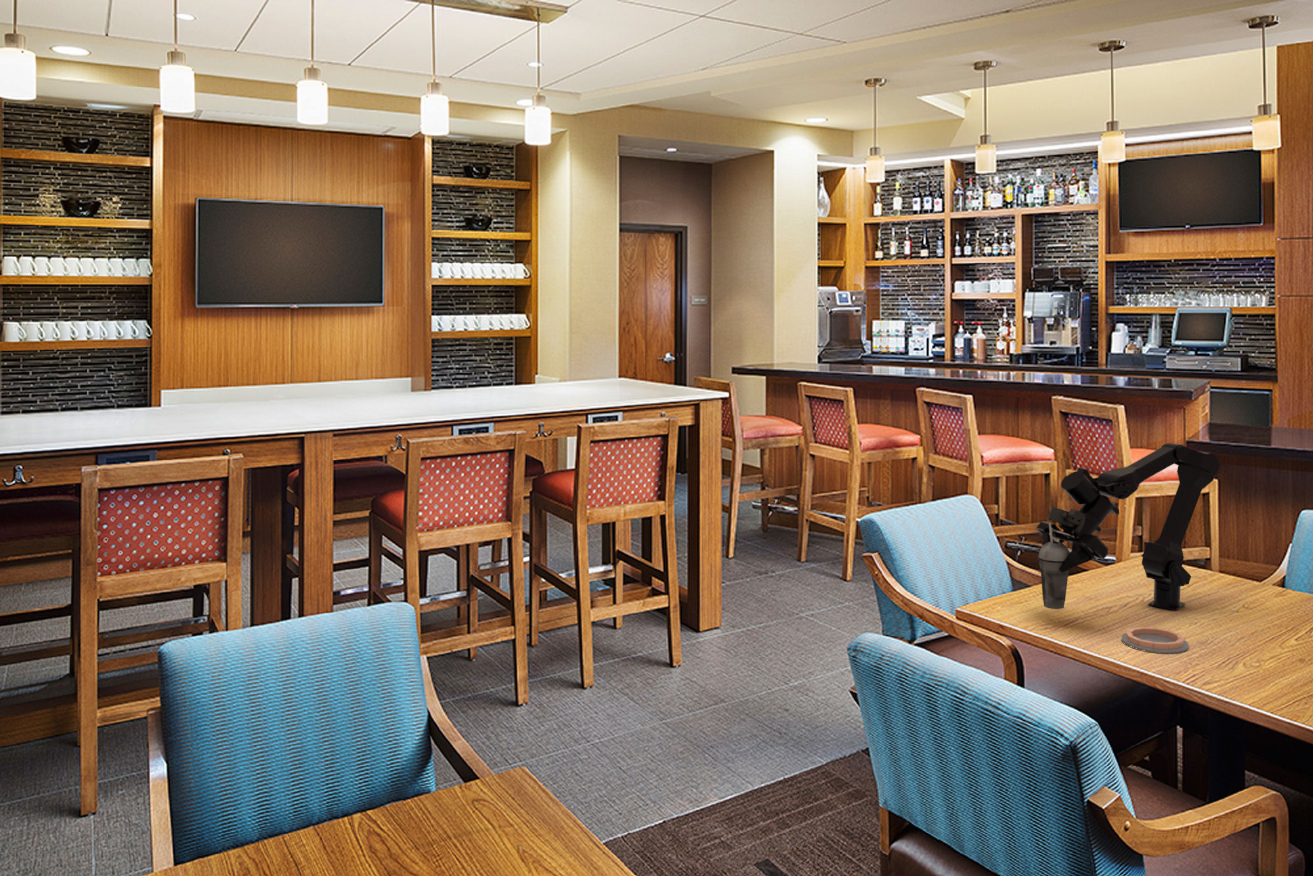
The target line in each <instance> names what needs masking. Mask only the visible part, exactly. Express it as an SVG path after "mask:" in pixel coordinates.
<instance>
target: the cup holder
mask: <svg viewBox="0 0 1313 876" xmlns="http://www.w3.org/2000/svg"><path fill="white" fill-rule="evenodd" d="M1120 639H1121V642H1122V643H1123V644H1124V643H1125V644H1126V645H1125V644H1124V645H1125V646H1127V645H1128V646H1127V647H1129V646H1132V647H1134V648H1137V649H1140V650H1139V651H1141V650H1145V651H1148V652H1147V653H1151V652H1155V653H1154V654H1160V653H1161V654H1162V653H1163V654H1164V655H1170V654H1171V655H1174V653H1175V654H1181V653H1184V652H1186V650H1187V651H1188V650H1189V643H1188V642H1187V640H1185V638H1184V637H1183V635H1182V634H1180V633H1178V632H1174V631H1173V630H1169V629H1164V628H1161V627H1149V626H1148V627H1146V626H1144V627H1143V626H1140V627H1133V628H1130V629H1128V630H1126V631H1125V633H1123V634H1122V635H1121V638H1120ZM1134 648H1133V649H1134ZM1137 649H1136V650H1137ZM1145 651H1144V652H1145ZM1167 653H1168V654H1167ZM1163 654H1162V655H1163Z"/></svg>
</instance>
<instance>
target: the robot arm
mask: <svg viewBox="0 0 1313 876" xmlns="http://www.w3.org/2000/svg"><path fill="white" fill-rule="evenodd" d="M1173 465H1176V466H1177V469H1176V472H1177V473H1176V474H1177V477H1178V481H1179V483H1178V487H1177V489H1176V492H1175V495H1174V498H1173V500H1172V503H1171V506H1170V508H1169V511H1168V513H1167V516H1166V519H1165V521H1164V524H1163V527H1162V529H1161V533H1160V535H1159V537H1158V538H1157V539H1155V541H1154V542H1152V541H1147V542H1146V544H1145V548H1144V551H1143V553H1142V554H1141V558H1142V559H1141V565H1142V566H1143V569H1144V573H1145V576H1146V578H1147V579H1151V580H1153V581H1154V582H1153V583H1154V584H1153V599H1152V600H1151V601H1150V602H1148V606H1151V607H1156V608H1160V609H1166V610H1172V611H1178V610H1180V609H1181V608H1182V607H1184V606H1185V605H1186V604H1185V603H1186V602H1183V601H1181V587H1184V586H1186V585H1187V586H1188V585H1190V582H1191V578H1192V576H1191V574H1190V573H1189V572H1188V571H1187V570H1186V569H1185V567H1183V563H1184V559H1185V557H1184V552H1183V548H1182V547H1183V546H1182V545H1183V542H1184V538H1185V537H1186V534H1187V530H1188V528H1189V525H1190V522H1191V520H1192V518H1193V515H1194V512H1195V509H1196V507H1197V504H1198V501H1199V498H1200V495H1201V493H1202V490H1203V489H1205V488H1206V487H1207V486H1208V485H1209V484H1211V483H1212V482H1213V481H1214V479H1215V478H1216V475H1217V474H1218V472H1219V469H1220V467H1221V462H1220V461H1219V458H1218V456H1217V455H1216V454H1215V453H1212V452H1204V451H1199V450H1198V451H1197V450H1194V449H1192V448H1189V447H1187V446H1185V445H1183V444H1180V443H1179V444H1178V443H1172V442H1167V443H1163V445H1161V447H1160V448H1158V449H1155V450H1154V451H1152V452H1151V453H1149V454H1147V455H1145V456H1144V457H1141V458H1140V459H1138V460H1136V461H1134V462H1133V463H1131V464H1129V465H1127V466H1124V467H1119V468H1113V469H1109V470H1107V471H1104V472H1101V473H1100V474H1099V475H1098V476H1097V477H1093V476H1092V475H1091V474H1090V472H1089V471H1088V469H1087V468H1083V467H1079V468H1078V469H1077V470H1076V471H1073V472H1071V473H1068V475H1065V476H1064V477H1063V478H1062V480H1061V482H1060V486H1061V488H1062V489H1063V491H1064V492H1066V493H1067V495H1068V496H1069V497H1070V498H1071V499H1072V501H1074V502H1075V504H1077V505H1081V507H1079V509H1074V508H1071V509H1069V511H1068V510H1066V509H1065V510H1064V509H1062V508H1058V507H1053V506H1051V508H1050V511H1049V513H1048V516H1047V520H1048V521H1052V522H1048V521H1040V522H1039V523H1038V525H1037V526H1036V527H1035V529H1036V530H1037V531H1038V532H1039V534H1040V535H1041V536H1042V541H1043V542H1042V547H1043V545H1045V544H1046V543H1048V542H1051V539H1050V530H1049V523H1051V527H1052V536H1053V541H1057V542H1060V543H1062V544H1064V542H1066V543H1070V544H1071V547H1072V548H1071V550H1070V551H1069V552H1070V553H1069V555H1068V556H1067V558H1066V559H1065V560H1064V562H1063V563H1062V565H1061V567H1060V569H1059V570H1060V571H1061V572H1065V571H1067V570H1071V569H1073V568H1076V567H1078V566H1080V565H1083V564H1085V563H1087V562H1091V561H1095V560H1096V559H1099V560H1103V561H1104V560H1105V558H1107V556H1108V555H1109V547H1107V545H1106V544H1105V543H1104V542H1103V541H1102V540H1101V539H1100V538H1099V537H1098V536H1096V535H1093V534H1094V533H1095V532H1096V533H1100V532H1101V531H1102V528H1101V527H1100V526H1101V524H1102V523H1104V520H1105V519H1106V518H1107V517H1108V515H1110V514H1114V515H1117V516H1118V515H1119V514H1120V510H1119V503H1118V502H1115V501H1112V500H1111V499H1110V498H1113V499H1118V500H1126V499H1128V498H1129V497H1130V496H1132V495H1133V494H1134V493H1135V492H1137V490H1138V489H1139V487H1140V485H1141V484H1142V483H1143V482H1144V481H1146V480H1149V478H1152V477H1153V476H1155V475H1156V474H1158V473H1160V472H1162V471H1164V470H1165V469H1167V468H1169V467H1171V466H1173ZM1053 522H1055V523H1056V524H1058V526H1057V525H1056V524H1055V523H1053ZM1061 529H1062V530H1061ZM1042 547H1041V548H1042ZM1037 563H1038V564H1039V559H1038V558H1037Z"/></svg>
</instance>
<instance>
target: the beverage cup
mask: <svg viewBox="0 0 1313 876" xmlns="http://www.w3.org/2000/svg"><path fill="white" fill-rule="evenodd" d="M1051 523H1052V522H1049V530H1050V539H1051V542H1048V543H1046V544H1045V545H1043V544H1042V545H1043V547H1040V550H1039V553H1038V557H1037V560H1038V559H1039V563H1038V564H1039V567H1040V577H1041V581H1040V582H1041V593H1042V594H1041V595H1042V601H1043V607H1044V608H1047V609H1051V610H1062V609H1064V608H1065V602H1066V597H1067V587H1068V580H1069V570H1070V569H1069V570H1067V571H1065V572H1061V571H1060V570H1059V569H1060V567H1061V565H1062V563H1063V562H1064V560H1065V559H1066V558H1067V556H1068V555H1069V553H1070V552H1071V551H1070V549H1069V548H1068V546H1066V545H1065V544H1064V543H1063V544H1062V543H1060V542H1057V541H1053V536H1052V527H1051Z"/></svg>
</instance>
